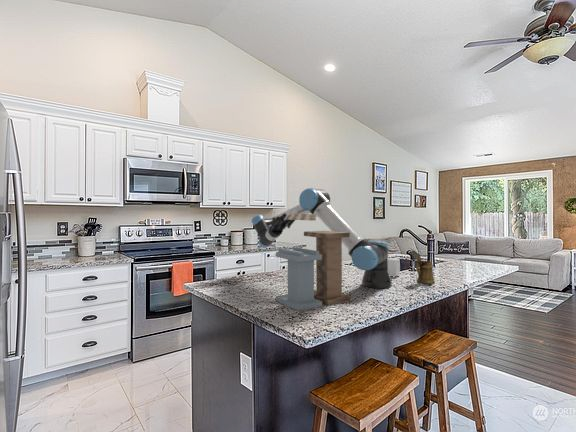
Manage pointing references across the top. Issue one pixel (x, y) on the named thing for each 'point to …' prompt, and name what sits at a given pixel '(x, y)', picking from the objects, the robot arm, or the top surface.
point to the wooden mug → (423, 269)
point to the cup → (394, 266)
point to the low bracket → (300, 278)
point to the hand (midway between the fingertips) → (292, 211)
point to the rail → (301, 217)
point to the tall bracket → (329, 266)
